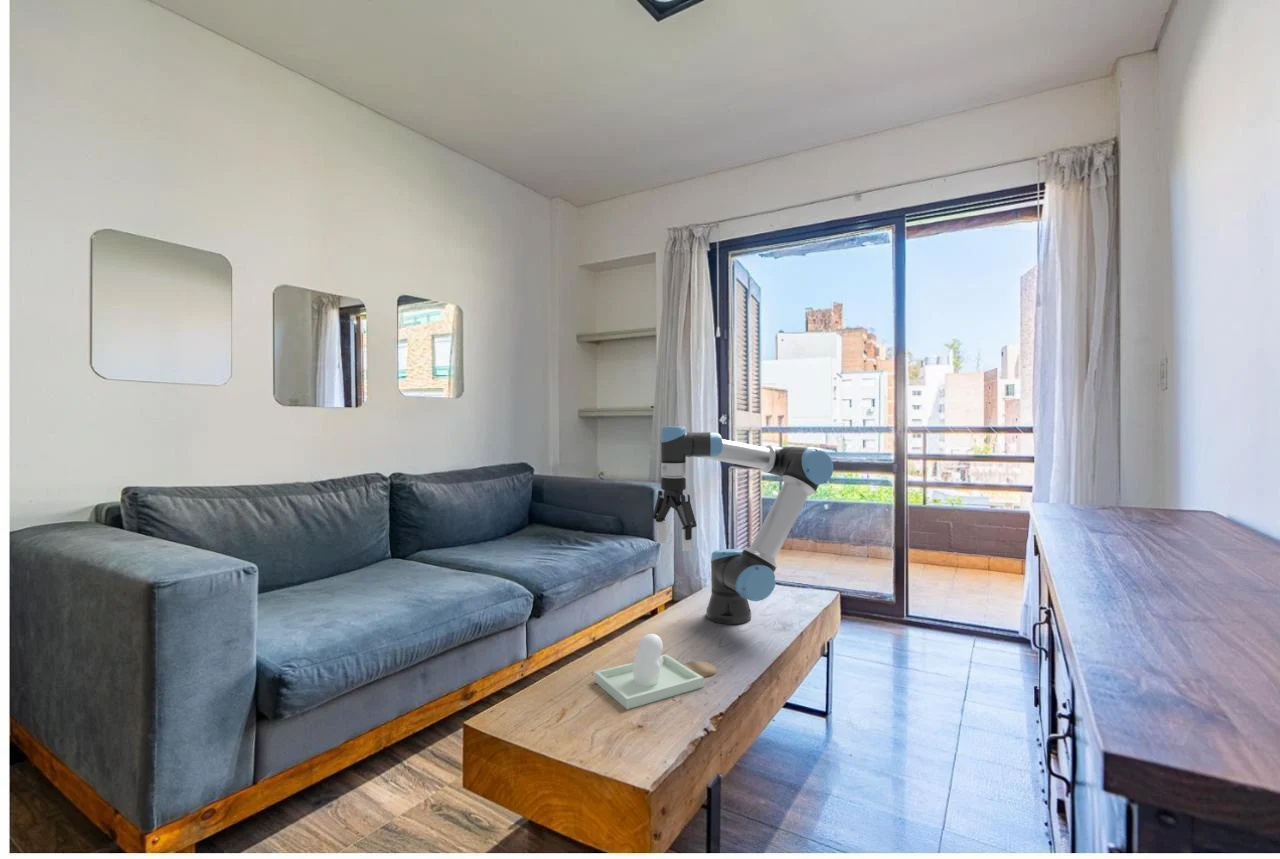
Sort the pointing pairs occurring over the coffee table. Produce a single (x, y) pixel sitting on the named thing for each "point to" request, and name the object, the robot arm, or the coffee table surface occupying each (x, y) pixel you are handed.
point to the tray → (632, 695)
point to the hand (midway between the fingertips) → (673, 546)
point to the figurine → (648, 660)
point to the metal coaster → (702, 668)
